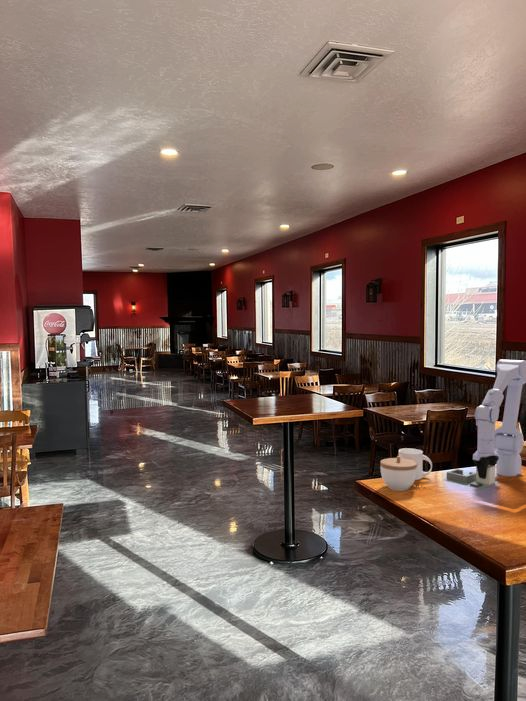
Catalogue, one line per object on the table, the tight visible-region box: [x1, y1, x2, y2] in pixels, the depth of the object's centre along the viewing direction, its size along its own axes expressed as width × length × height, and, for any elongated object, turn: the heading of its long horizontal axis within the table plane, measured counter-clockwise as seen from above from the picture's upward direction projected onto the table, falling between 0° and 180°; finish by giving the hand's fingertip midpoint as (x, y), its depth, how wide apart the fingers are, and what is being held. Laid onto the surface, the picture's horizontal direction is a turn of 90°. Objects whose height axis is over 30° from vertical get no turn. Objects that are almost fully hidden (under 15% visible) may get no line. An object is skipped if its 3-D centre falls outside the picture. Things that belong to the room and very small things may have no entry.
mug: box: [398, 447, 433, 481], centre depth 205 cm, size 9×12×11 cm
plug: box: [475, 465, 497, 486], centre depth 200 cm, size 8×5×6 cm, turn 131°
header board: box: [442, 468, 500, 490], centre depth 201 cm, size 13×15×4 cm
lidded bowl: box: [379, 455, 417, 492], centre depth 195 cm, size 13×13×11 cm
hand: (485, 477), depth 198 cm, fingers closed on plug, 4 cm apart
